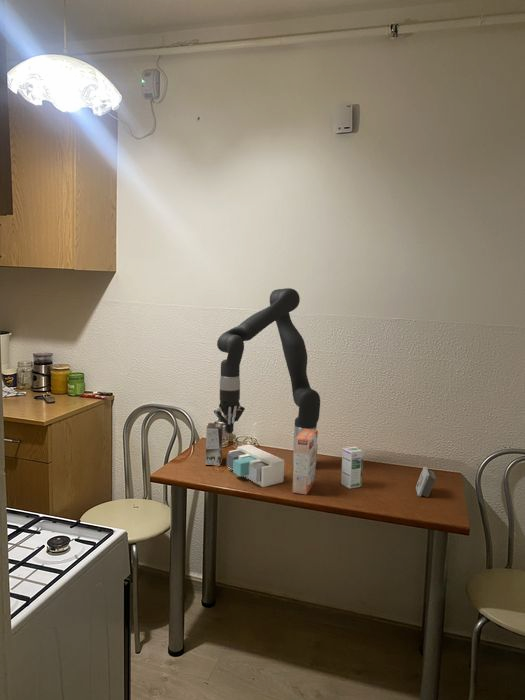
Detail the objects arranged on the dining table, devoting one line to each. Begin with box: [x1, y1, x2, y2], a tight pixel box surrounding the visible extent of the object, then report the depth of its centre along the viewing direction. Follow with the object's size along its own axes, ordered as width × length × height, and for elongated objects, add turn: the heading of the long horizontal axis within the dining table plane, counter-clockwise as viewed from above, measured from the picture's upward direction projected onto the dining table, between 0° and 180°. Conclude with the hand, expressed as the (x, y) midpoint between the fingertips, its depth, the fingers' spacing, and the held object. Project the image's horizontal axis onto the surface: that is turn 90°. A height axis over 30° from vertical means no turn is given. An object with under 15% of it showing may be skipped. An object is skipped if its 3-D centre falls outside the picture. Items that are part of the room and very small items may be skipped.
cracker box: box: [291, 429, 319, 496], centre depth 192 cm, size 14×6×21 cm, turn 163°
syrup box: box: [340, 446, 364, 489], centre depth 197 cm, size 6×6×14 cm
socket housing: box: [228, 444, 285, 488], centre depth 204 cm, size 10×23×9 cm, turn 37°
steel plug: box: [248, 462, 269, 482], centre depth 197 cm, size 10×5×5 cm, turn 128°
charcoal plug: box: [226, 451, 245, 469], centre depth 209 cm, size 10×5×5 cm, turn 128°
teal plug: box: [232, 456, 258, 477], centre depth 201 cm, size 10×5×5 cm, turn 127°
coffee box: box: [205, 422, 224, 466], centre depth 216 cm, size 9×6×16 cm
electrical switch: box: [415, 466, 437, 498], centre depth 192 cm, size 9×5×9 cm, turn 169°
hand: (229, 433), depth 194 cm, fingers closed
